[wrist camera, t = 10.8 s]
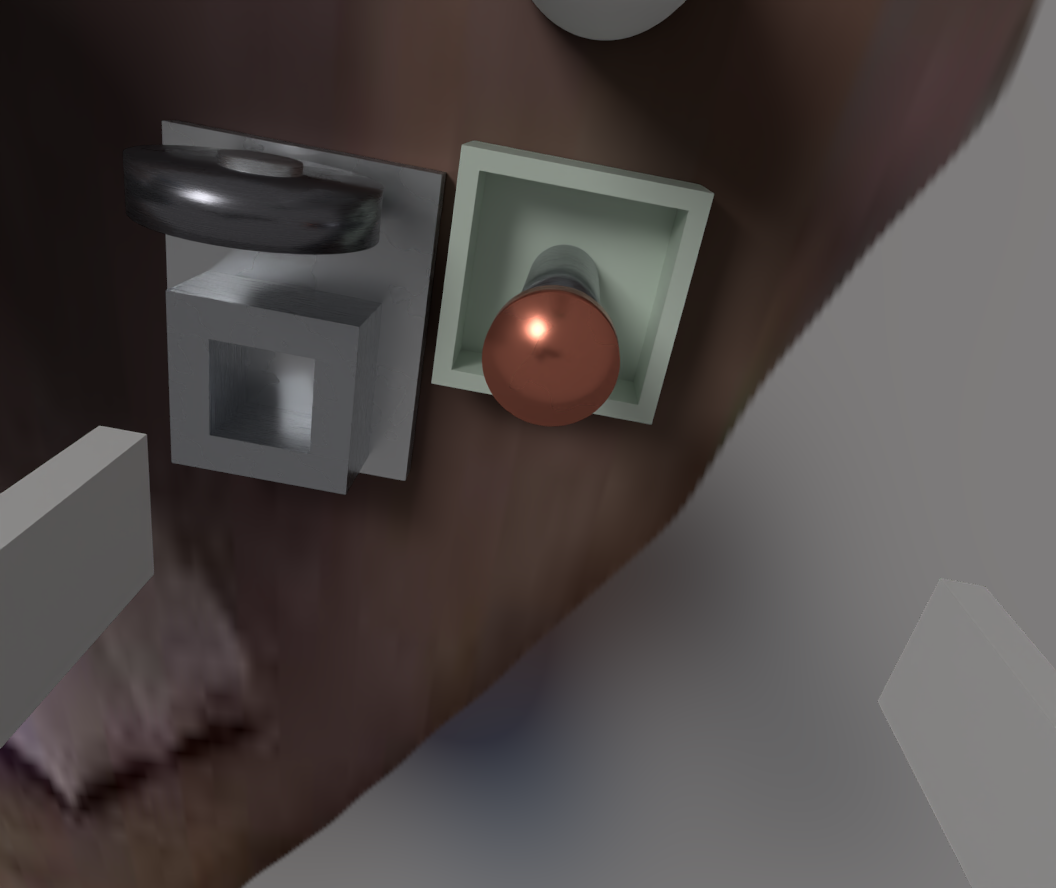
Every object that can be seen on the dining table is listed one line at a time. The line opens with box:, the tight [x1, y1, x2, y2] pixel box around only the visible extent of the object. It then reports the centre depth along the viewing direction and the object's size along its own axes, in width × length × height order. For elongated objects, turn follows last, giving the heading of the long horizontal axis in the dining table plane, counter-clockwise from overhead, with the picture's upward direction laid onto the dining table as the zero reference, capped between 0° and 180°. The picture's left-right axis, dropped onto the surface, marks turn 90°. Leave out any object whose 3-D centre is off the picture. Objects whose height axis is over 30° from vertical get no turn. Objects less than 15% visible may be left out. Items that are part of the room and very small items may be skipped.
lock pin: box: [482, 245, 620, 426], centre depth 28 cm, size 4×4×12 cm
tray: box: [431, 141, 714, 425], centre depth 32 cm, size 10×10×4 cm
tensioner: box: [123, 120, 446, 495], centre depth 31 cm, size 12×15×10 cm
